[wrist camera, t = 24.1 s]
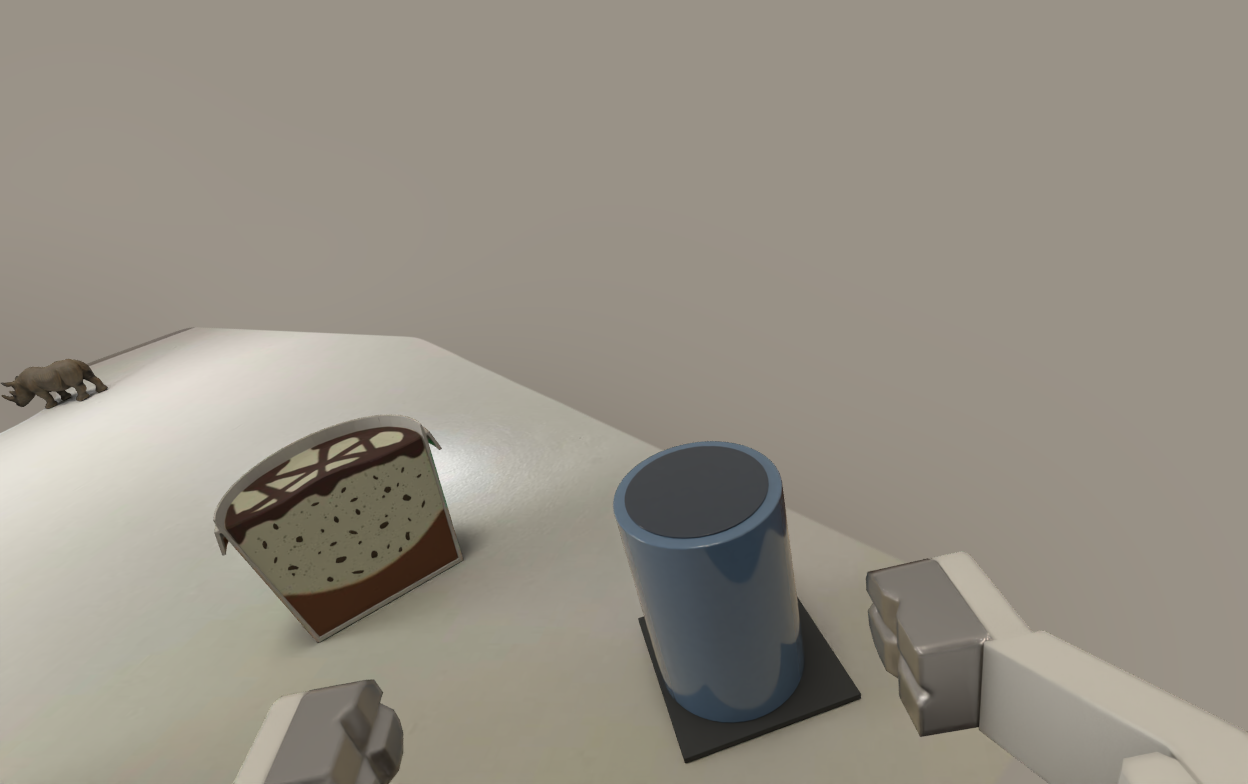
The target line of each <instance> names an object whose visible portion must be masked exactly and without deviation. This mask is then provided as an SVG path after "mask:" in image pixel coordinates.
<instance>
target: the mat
mask: <svg viewBox="0 0 1248 784" xmlns="http://www.w3.org/2000/svg"><path fill="white" fill-rule="evenodd" d="M797 601H798V608H799V616H800V624H801V631H802V639H803V646H804V656H805V663H804V670H803V674H802V677H801V680H800V682H799V684H798V686H797V688H796V689H795V691H794V692H793V694H792V695H791V696H790V697H789V699H788V700H787V701H785V702H784V703H783V704H782V705H781V706H780V707H778V708H777V709H775V710H774V711H772V712H770V713H768V714H767V715H765V716H762V717H759V718H757V719H754V720H749V721H745V722H736V723H724V722H717V721H711V720H708V719H704V718H702V717H699V716H697V715H695V714H693V713H691V712H689V711H688V710H686V709H685V708H684V707H682V706H681V705H680V704H678V702H677V701H676V700H675V699H674V698H673V697H672V696H671V694H670V693H669V692H668V690H667V688H666V686H665V684H664V682H663V679H662V676H661V673H660V669H659V666H658V662H657V659H656V655H655V652H654V649H653V645H652V642H651V638H650V635H649V631H648V628H647V625H646V621H645V618H644V617H641V618H638V620H639V623H640V626H641V629H642V632H643V635H644V638H645V641H646V644H647V647H648V651H649V654H650V657H651V660H652V663H653V666H654V669H655V672H656V675H657V678H658V681H659V684H660V687H661V690H662V694H663V697H664V700H665V703H666V706H667V709H668V712H669V715H670V718H671V721H672V724H673V727H674V730H675V733H676V737H677V740H678V743H679V746H680V749H681V752H682V755H683V758H684V761H685V763H687V762H690V761H692V760H695V759H698V758H701V757H703V756H706V755H709V754H711V753H714V752H717V751H719V750H722V749H725V748H727V747H730V746H733V745H735V744H738V743H741V742H744V741H746V740H749V739H752V738H754V737H757V736H760V735H762V734H765V733H768V732H770V731H773V730H776V729H778V728H781V727H784V726H787V725H789V724H792V723H795V722H797V721H800V720H803V719H805V718H808V717H811V716H813V715H816V714H819V713H822V712H824V711H827V710H830V709H832V708H835V707H838V706H840V705H843V704H846V703H848V702H851V701H854V700H856V699H859V698H861V693H860V692H859V690H858V689H857V687H856V686H855V684H854V683H853V681H852V680H851V678H850V676H849V675H848V673H847V672H846V670H845V669H844V667H843V666H842V664H841V663H840V661H839V660H838V658H837V657H836V655H835V654H834V652H833V651H832V649H831V648H830V646H829V645H828V643H827V641H826V640H825V638H824V637H823V635H822V634H821V632H820V631H819V629H818V628H817V626H816V625H815V623H814V622H813V620H812V619H811V617H810V616H809V614H808V613H807V611H806V610H805V608H804V607H803V605H802V603H801V602H800V600H799V599H798V597H797Z"/></svg>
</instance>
